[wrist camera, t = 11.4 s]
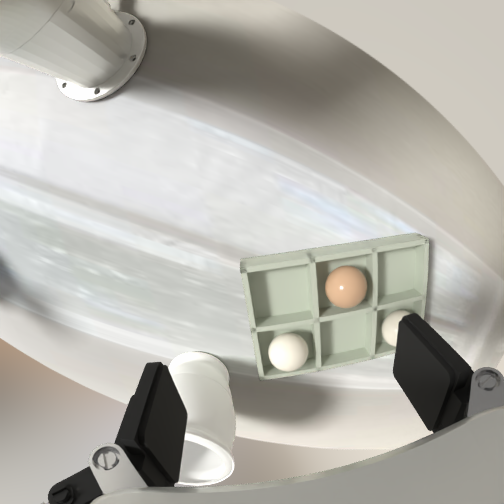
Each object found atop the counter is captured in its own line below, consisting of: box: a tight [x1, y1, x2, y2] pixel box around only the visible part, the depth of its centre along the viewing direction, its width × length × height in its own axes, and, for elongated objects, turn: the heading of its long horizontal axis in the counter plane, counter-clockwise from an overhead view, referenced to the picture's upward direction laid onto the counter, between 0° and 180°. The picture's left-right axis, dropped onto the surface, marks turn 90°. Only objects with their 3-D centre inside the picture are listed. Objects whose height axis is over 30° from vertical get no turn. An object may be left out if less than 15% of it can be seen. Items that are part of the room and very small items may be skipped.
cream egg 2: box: [382, 310, 410, 347], centre depth 32 cm, size 5×5×5 cm
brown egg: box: [325, 265, 367, 308], centre depth 30 cm, size 5×5×5 cm
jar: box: [169, 352, 236, 485], centre depth 30 cm, size 11×10×15 cm
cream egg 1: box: [268, 332, 308, 372], centre depth 32 cm, size 5×5×5 cm
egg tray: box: [240, 233, 429, 381], centre depth 33 cm, size 15×22×3 cm
